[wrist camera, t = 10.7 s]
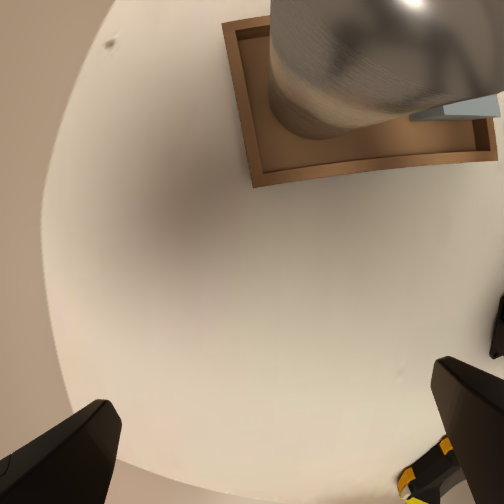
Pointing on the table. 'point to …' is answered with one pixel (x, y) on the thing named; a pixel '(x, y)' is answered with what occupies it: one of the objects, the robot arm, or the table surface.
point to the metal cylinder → (379, 60)
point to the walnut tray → (340, 147)
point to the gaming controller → (428, 475)
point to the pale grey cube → (461, 111)
